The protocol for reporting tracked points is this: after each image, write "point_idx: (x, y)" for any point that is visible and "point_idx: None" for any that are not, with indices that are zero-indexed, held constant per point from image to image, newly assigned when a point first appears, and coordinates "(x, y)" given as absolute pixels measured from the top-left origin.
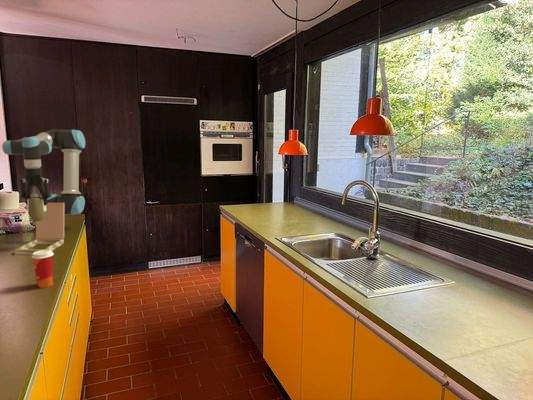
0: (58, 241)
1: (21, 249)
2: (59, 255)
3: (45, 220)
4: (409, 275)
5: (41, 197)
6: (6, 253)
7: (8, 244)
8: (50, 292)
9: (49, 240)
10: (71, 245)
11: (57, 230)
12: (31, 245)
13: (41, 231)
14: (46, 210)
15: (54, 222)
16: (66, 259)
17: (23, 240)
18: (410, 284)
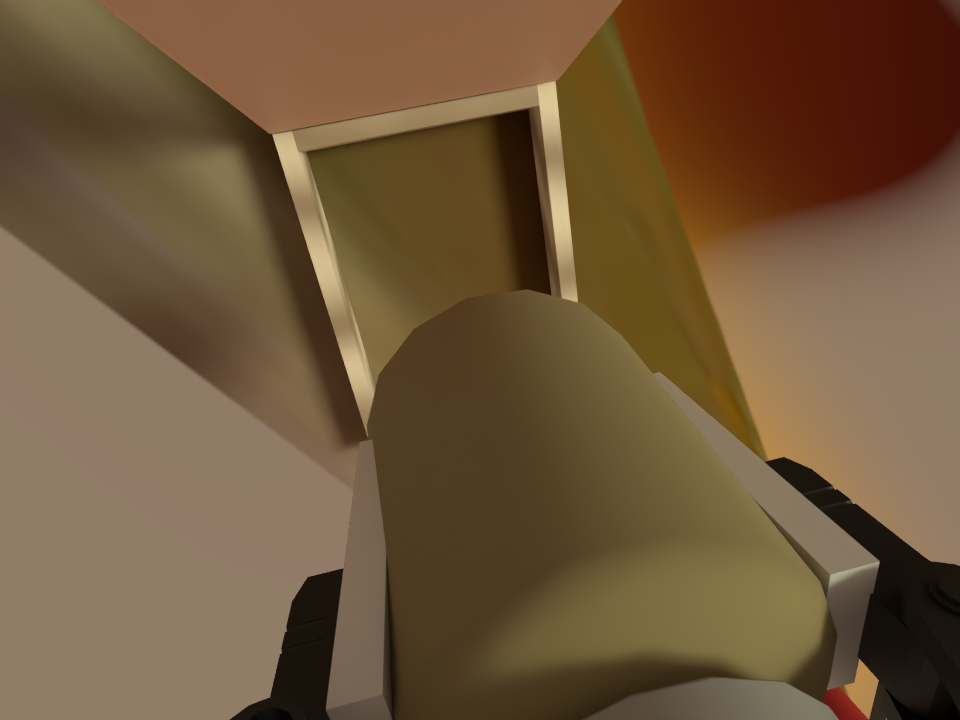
0: (552, 169)
1: (372, 392)
2: (675, 384)
3: (342, 30)
4: None
5: (820, 684)
6: (284, 424)
7: (22, 204)
8: None
9: (426, 127)
10: (641, 136)
11: (513, 59)
12: (332, 251)
13: (313, 98)
14: (661, 374)
15: (490, 19)
16: (751, 437)
17: (8, 19)
18: None
